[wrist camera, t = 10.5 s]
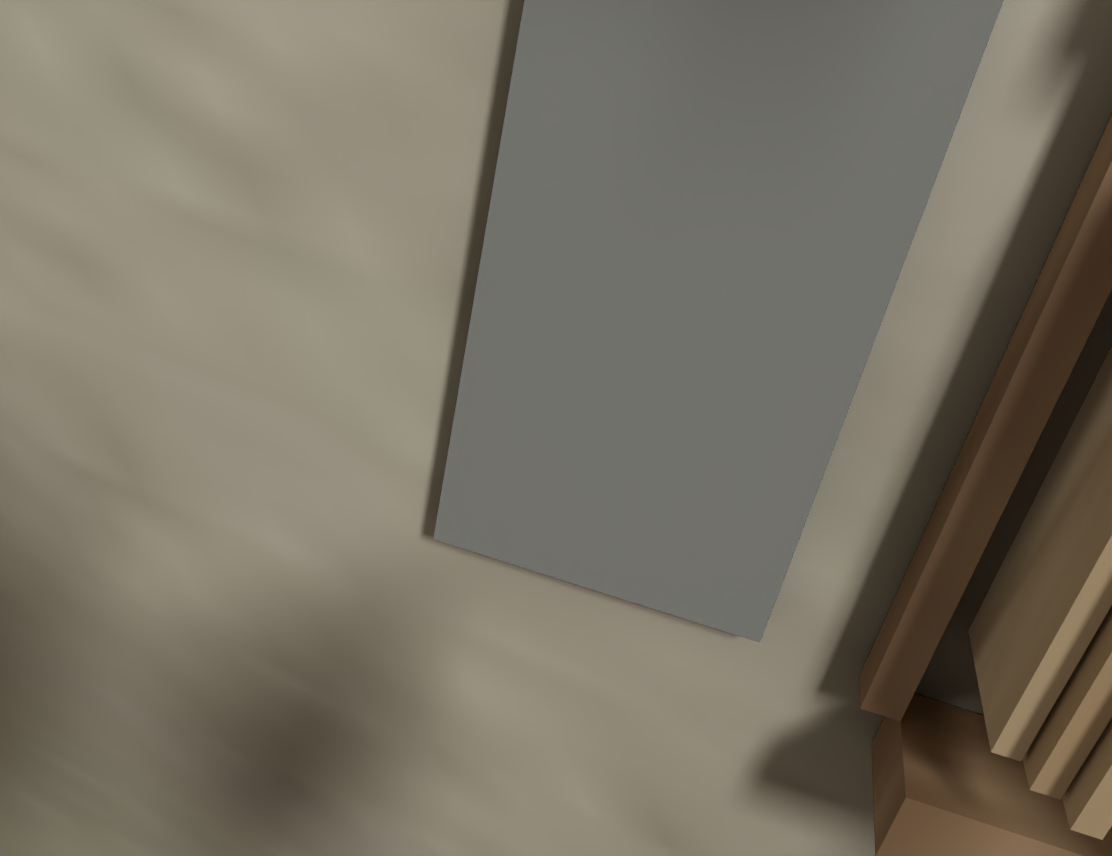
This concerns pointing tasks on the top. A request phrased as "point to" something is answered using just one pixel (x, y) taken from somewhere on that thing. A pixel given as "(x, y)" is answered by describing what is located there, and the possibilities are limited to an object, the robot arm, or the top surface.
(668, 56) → the grey mat
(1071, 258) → the walnut rack
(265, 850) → the top surface
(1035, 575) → the offcut bundle
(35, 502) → the top surface
